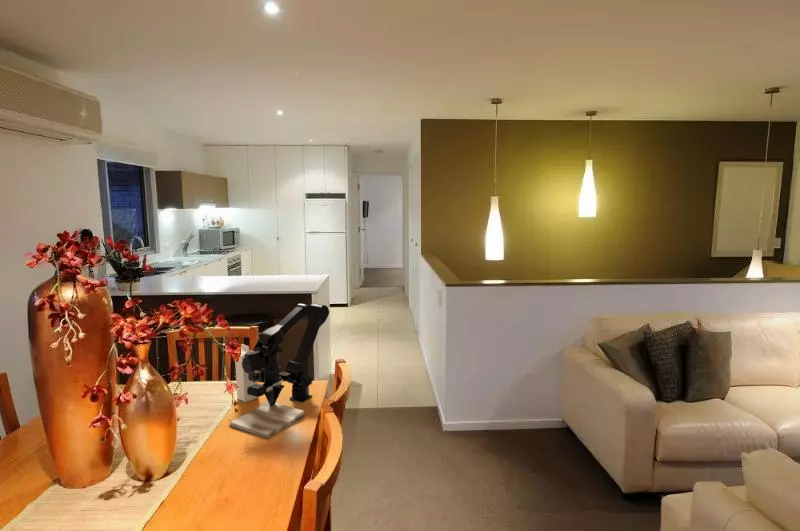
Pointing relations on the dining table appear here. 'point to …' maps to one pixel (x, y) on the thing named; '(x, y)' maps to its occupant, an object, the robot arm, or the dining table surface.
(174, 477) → the dining table surface
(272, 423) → the laid planks
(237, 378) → the milk
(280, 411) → the loose plank
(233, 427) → the underlay mat
